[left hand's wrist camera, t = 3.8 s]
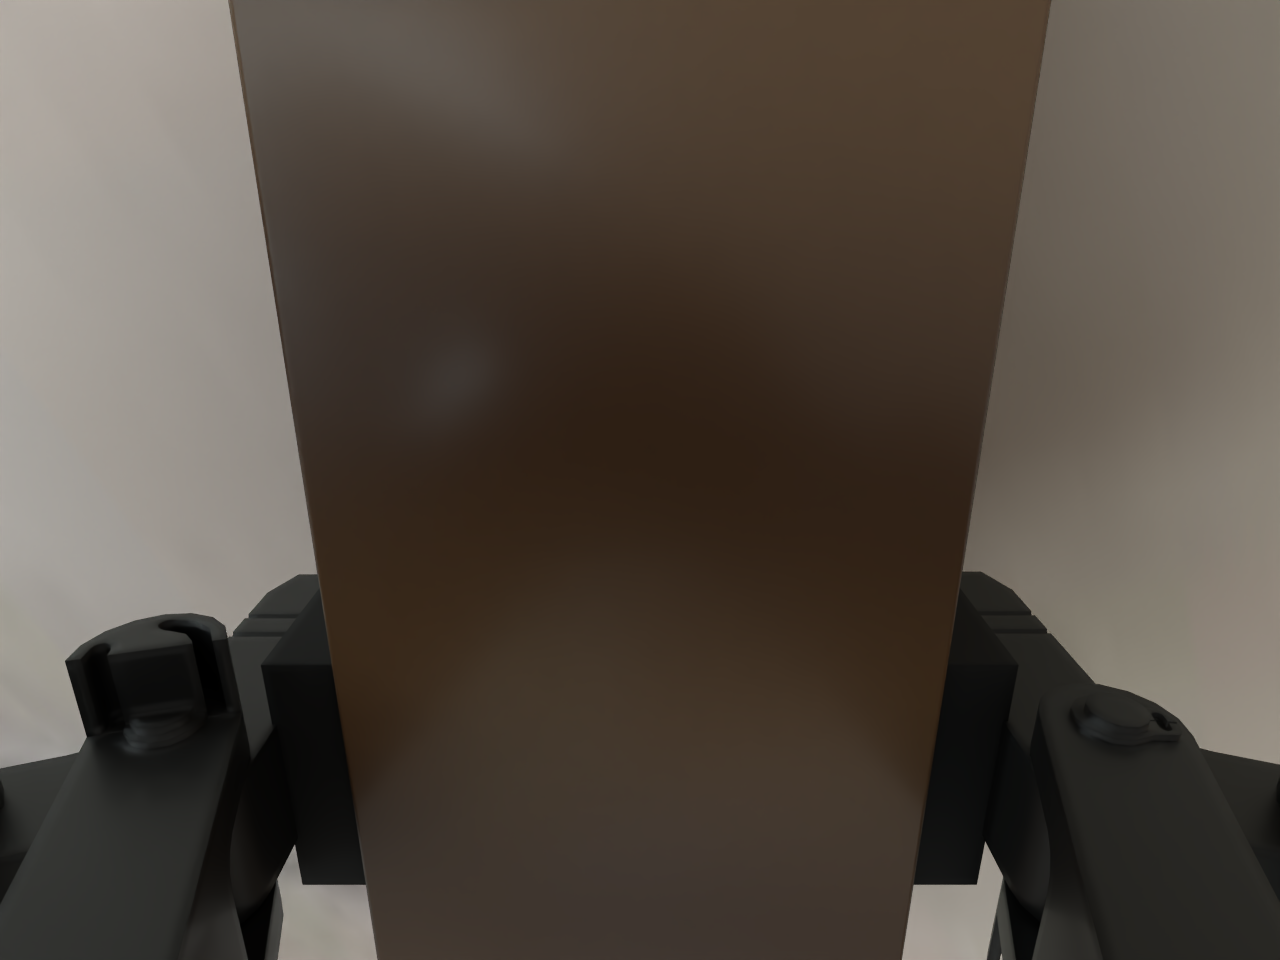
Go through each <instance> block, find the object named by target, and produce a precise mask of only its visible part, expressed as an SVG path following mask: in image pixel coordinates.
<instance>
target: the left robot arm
mask: <svg viewBox="0 0 1280 960" xmlns="http://www.w3.org/2000/svg"><path fill="white" fill-rule="evenodd" d="M65 663H66V666H67V670H68V673H69V677H70V680H71V684H72V687H73V690H74V694H75V697H76V701H77V704H78V708H79V711H80V715H81V718H82V721H83V725H84V728H85V732H86V735H87V738H86V740H85V742H84V744H83V746H82V748H81V750H80V752H79V753H75V754H71V755H67V756H62V757H57V758H52V759H46V760H41V761H36V762H31V763H26V764H21V765H16V766H11V767H6V768H1V769H0V960H278V952H279V945H280V937H281V930H282V922H283V909H282V901H281V895H280V890H279V886H278V881H277V878H278V876H279V874H280V872H281V870H282V868H283V866H284V864H285V862H286V860H287V858H288V856H289V854H290V853H291V851H292V849H293V847H294V845H295V847H296V852H297V857H298V862H299V868H300V873H301V878H302V883H303V885H366V882H365V875H364V869H363V862H362V856H361V849H360V843H359V837H358V830H357V824H356V817H355V811H354V804H353V798H352V792H351V785H350V779H349V772H348V766H347V760H346V753H345V747H344V740H343V734H342V727H341V721H340V715H339V708H338V702H337V695H336V689H335V682H334V676H333V670H332V663H331V657H330V650H329V644H328V638H327V631H326V625H325V618H324V612H323V605H322V599H321V593H320V586H319V580H318V575H297V576H295V577H294V578H292V579H290V580H289V581H287V582H285V583H283V584H282V585H280V586H278V587H277V588H275V589H273V590H272V591H270V592H268V593H267V594H266V595H265V596H264V597H263V599H262V600H261V601H260V602H259V603H258V604H257V605H256V607H255V608H254V609H253V610H252V611H251V612H250V613H249V618H245V619H244V620H243V621H242V623H241V624H240V625H239V626H238V627H237V628H236V629H235V630H234V632H233V637H228V638H227V633H226V628H225V626H224V625H223V624H222V623H220V622H219V621H217V620H216V619H215V618H213V617H209V616H203V615H198V614H193V613H188V614H165V615H160V616H155V617H150V618H145V619H141V620H136V621H133V622H130V623H127V624H124V625H122V626H119V627H116V628H113V629H111V630H108V631H105V632H103V633H102V634H100V635H98V636H96V637H95V638H93V639H91V640H89V641H88V642H86V643H84V644H82V645H81V646H80V647H79V648H78V649H77V650H76V651H75V652H74V653H73V654H72V655H71V656H70V657H69V658H68V659H67V660H66V661H65ZM985 842H986V843H987V845H988V847H989V849H990V851H991V853H992V855H993V857H994V859H995V861H996V863H997V865H998V867H999V869H1000V871H1001V873H1002V875H1003V881H1002V886H1001V890H1000V895H999V900H998V905H997V910H996V915H995V920H994V924H993V929H992V934H991V939H990V944H989V949H988V955H987V960H1000V956H1001V954H1002V958H1003V960H1280V765H1278V764H1273V763H1268V762H1263V761H1258V760H1253V759H1248V758H1243V757H1238V756H1232V755H1227V754H1222V753H1217V752H1212V751H1208V750H1204V749H1200V748H1199V746H1198V744H1197V742H1196V741H1195V739H1194V737H1193V735H1192V734H1191V733H1190V732H1189V731H1188V729H1187V728H1186V727H1185V726H1184V725H1183V723H1182V722H1181V721H1180V720H1179V719H1178V718H1177V717H1175V716H1174V715H1172V714H1171V713H1169V712H1168V711H1166V710H1165V709H1163V708H1162V707H1160V706H1159V705H1158V704H1156V703H1154V702H1152V701H1149V700H1147V699H1145V698H1142V697H1140V696H1138V695H1135V694H1133V693H1131V692H1128V691H1124V690H1120V689H1116V688H1112V687H1108V686H1104V685H1100V684H1095V683H1094V682H1093V680H1092V679H1091V678H1090V677H1089V676H1088V675H1087V674H1086V673H1085V671H1084V670H1083V669H1082V668H1081V667H1080V666H1079V665H1078V664H1077V662H1076V661H1075V660H1074V659H1073V658H1072V657H1071V656H1070V655H1069V653H1068V652H1067V651H1066V650H1065V649H1064V648H1063V647H1062V645H1061V644H1060V643H1059V642H1058V641H1057V640H1056V639H1055V638H1054V636H1053V635H1052V634H1047V629H1046V627H1045V626H1044V625H1043V624H1042V623H1041V622H1040V621H1039V619H1038V618H1037V617H1036V616H1035V615H1031V610H1030V609H1029V608H1028V607H1027V606H1026V605H1025V604H1024V603H1023V601H1022V600H1021V599H1020V598H1019V597H1018V596H1017V595H1016V594H1015V592H1014V591H1013V590H1012V589H1010V588H1008V587H1006V586H1005V585H1003V584H1001V583H1000V582H998V581H996V580H994V579H993V578H991V577H989V576H987V575H986V574H984V573H982V572H962V576H961V582H960V589H959V595H958V602H957V608H956V614H955V621H954V627H953V634H952V640H951V647H950V653H949V659H948V666H947V672H946V679H945V685H944V692H943V698H942V704H941V711H940V717H939V724H938V730H937V736H936V743H935V749H934V756H933V762H932V769H931V775H930V781H929V788H928V794H927V801H926V807H925V814H924V820H923V826H922V833H921V839H920V846H919V852H918V858H917V865H916V871H915V878H914V884H913V885H977V880H978V875H979V870H980V865H981V860H982V854H983V849H984V844H985Z"/></svg>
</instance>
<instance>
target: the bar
mask: <svg viewBox="0 0 1280 960" xmlns="http://www.w3.org/2000/svg"><path fill="white" fill-rule="evenodd" d="M228 2H229V8H230V15H231V21H232V27H233V34H234V40H235V47H236V53H237V60H238V66H239V72H240V79H241V85H242V92H243V98H244V104H245V111H246V117H247V124H248V130H249V137H250V143H251V149H252V156H253V162H254V169H255V175H256V182H257V188H258V194H259V201H260V207H261V214H262V220H263V227H264V233H265V239H266V246H267V252H268V259H269V265H270V271H271V278H272V284H273V291H274V297H275V304H276V310H277V316H278V323H279V329H280V336H281V342H282V349H283V355H284V361H285V368H286V374H287V381H288V387H289V393H290V400H291V406H292V413H293V419H294V426H295V432H296V438H297V445H298V451H299V458H300V464H301V471H302V477H303V483H304V490H305V496H306V503H307V509H308V516H309V522H310V528H311V535H312V541H313V548H314V554H315V560H316V567H317V573H318V580H319V586H320V593H321V599H322V605H323V612H324V618H325V625H326V631H327V638H328V644H329V650H330V657H331V663H332V670H333V676H334V682H335V689H336V695H337V702H338V708H339V715H340V721H341V727H342V734H343V740H344V747H345V753H346V760H347V766H348V772H349V779H350V785H351V792H352V798H353V804H354V811H355V817H356V824H357V830H358V837H359V843H360V849H361V856H362V862H363V869H364V875H365V882H366V888H367V894H368V901H369V907H370V914H371V920H372V927H373V933H374V939H375V946H376V952H377V959H378V960H902V955H903V948H904V942H905V936H906V929H907V923H908V916H909V910H910V903H911V897H912V891H913V884H914V878H915V871H916V865H917V858H918V852H919V846H920V839H921V833H922V826H923V820H924V814H925V807H926V801H927V794H928V788H929V781H930V775H931V769H932V762H933V756H934V749H935V743H936V736H937V730H938V724H939V717H940V711H941V704H942V698H943V692H944V685H945V679H946V672H947V666H948V659H949V653H950V647H951V640H952V634H953V627H954V621H955V614H956V608H957V602H958V595H959V589H960V582H961V576H962V570H963V563H964V557H965V550H966V544H967V537H968V531H969V525H970V518H971V512H972V505H973V499H974V492H975V486H976V480H977V473H978V467H979V460H980V454H981V448H982V441H983V435H984V428H985V422H986V415H987V409H988V403H989V396H990V390H991V383H992V377H993V370H994V364H995V358H996V351H997V345H998V338H999V332H1000V326H1001V319H1002V313H1003V306H1004V300H1005V293H1006V287H1007V281H1008V274H1009V268H1010V261H1011V255H1012V248H1013V242H1014V236H1015V229H1016V223H1017V216H1018V210H1019V203H1020V197H1021V191H1022V184H1023V178H1024V171H1025V165H1026V159H1027V152H1028V146H1029V139H1030V133H1031V126H1032V120H1033V114H1034V107H1035V101H1036V94H1037V88H1038V81H1039V75H1040V69H1041V62H1042V56H1043V49H1044V43H1045V37H1046V30H1047V24H1048V17H1049V11H1050V4H1051V0H228Z"/></svg>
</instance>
